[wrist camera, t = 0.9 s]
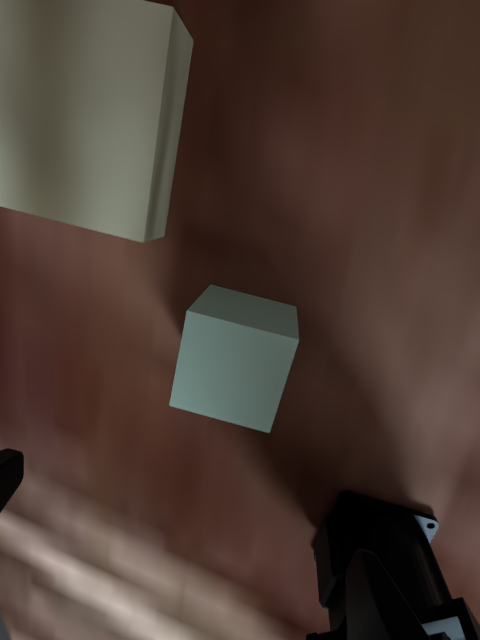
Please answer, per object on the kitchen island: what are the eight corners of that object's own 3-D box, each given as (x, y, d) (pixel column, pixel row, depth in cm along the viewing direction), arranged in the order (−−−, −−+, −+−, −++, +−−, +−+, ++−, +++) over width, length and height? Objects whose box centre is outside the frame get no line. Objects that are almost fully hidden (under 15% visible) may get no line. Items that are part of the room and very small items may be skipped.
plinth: (193, 40, 16) (173, 6, 13) (164, 236, 19) (143, 242, 16) (9, -2, 16) (-49, -43, 13) (10, 197, 19) (-36, 197, 17)
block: (296, 306, 19) (299, 340, 15) (273, 381, 21) (269, 433, 17) (210, 284, 20) (186, 310, 15) (195, 360, 21) (169, 405, 17)
